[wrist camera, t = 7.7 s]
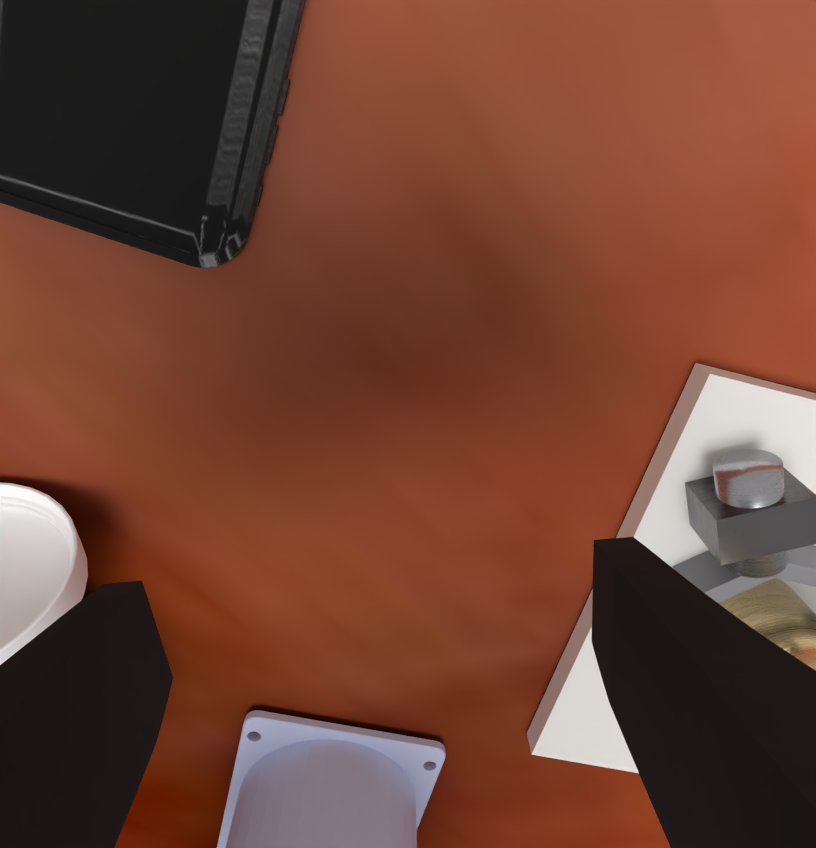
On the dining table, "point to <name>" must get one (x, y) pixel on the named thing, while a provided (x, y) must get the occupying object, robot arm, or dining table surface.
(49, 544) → the spread jar
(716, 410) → the base plate
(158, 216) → the phone
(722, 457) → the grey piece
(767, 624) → the cylinder
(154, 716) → the robot arm
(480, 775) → the dining table surface
